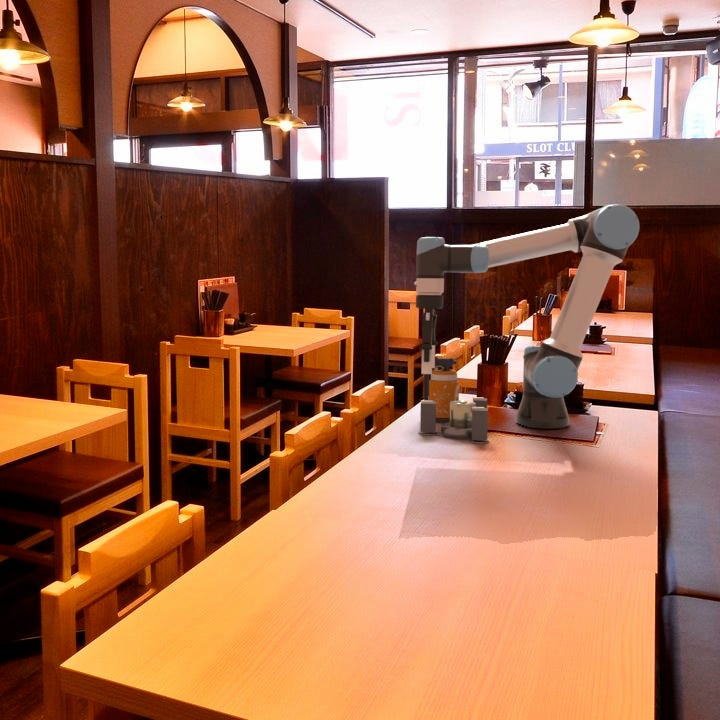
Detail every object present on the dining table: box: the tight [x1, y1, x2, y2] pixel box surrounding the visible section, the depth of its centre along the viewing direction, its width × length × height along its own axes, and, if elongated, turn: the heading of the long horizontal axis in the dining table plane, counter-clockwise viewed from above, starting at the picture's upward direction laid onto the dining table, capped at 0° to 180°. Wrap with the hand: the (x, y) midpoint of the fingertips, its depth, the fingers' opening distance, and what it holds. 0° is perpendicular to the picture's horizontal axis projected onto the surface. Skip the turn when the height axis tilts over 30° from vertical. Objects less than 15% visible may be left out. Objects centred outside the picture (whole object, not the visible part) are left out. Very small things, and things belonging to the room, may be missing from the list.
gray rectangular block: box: [472, 407, 489, 441], centre depth 205 cm, size 4×4×8 cm
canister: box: [423, 356, 460, 425], centre depth 230 cm, size 9×11×20 cm
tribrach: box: [418, 399, 490, 445], centre depth 215 cm, size 19×22×10 cm
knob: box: [472, 396, 488, 408], centre depth 222 cm, size 4×4×8 cm
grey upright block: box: [419, 399, 437, 432], centre depth 216 cm, size 4×4×8 cm
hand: (428, 370), depth 214 cm, fingers open, 13 cm apart
